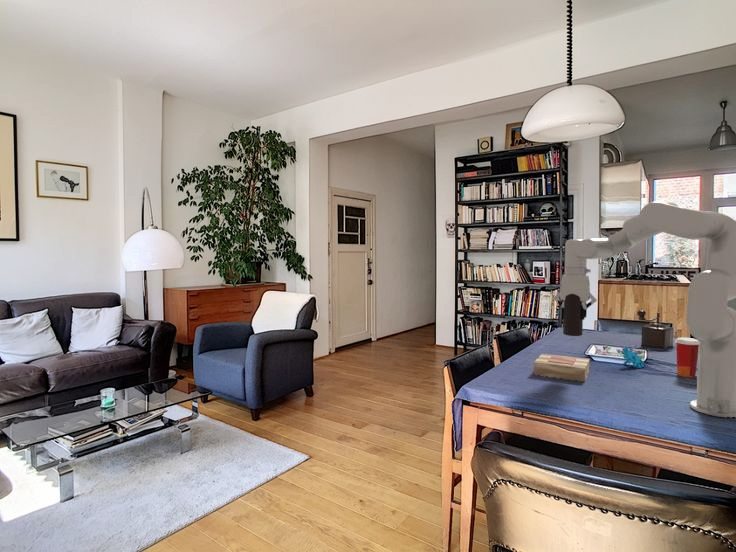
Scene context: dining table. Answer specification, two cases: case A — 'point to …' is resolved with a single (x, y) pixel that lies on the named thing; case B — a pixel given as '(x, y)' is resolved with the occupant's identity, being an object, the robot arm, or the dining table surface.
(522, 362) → the dining table surface
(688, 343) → the paper cup
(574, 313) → the vinegar
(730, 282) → the robot arm
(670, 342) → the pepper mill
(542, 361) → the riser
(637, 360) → the blue lumpy piece
